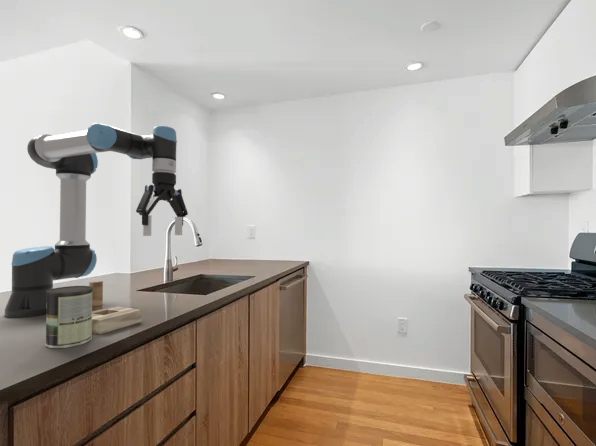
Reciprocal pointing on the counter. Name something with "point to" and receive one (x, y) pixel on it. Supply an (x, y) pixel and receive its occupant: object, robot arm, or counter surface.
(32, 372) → the counter surface
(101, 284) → the oak peg
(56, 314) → the coffee can
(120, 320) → the maple block
